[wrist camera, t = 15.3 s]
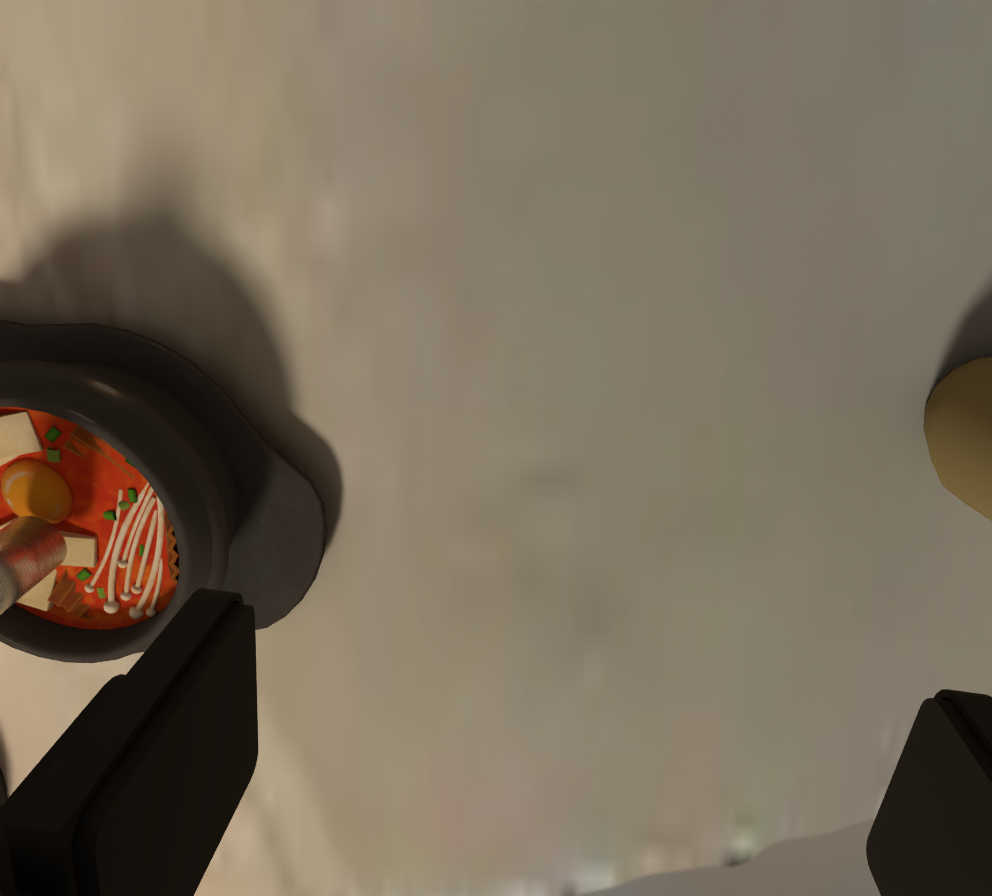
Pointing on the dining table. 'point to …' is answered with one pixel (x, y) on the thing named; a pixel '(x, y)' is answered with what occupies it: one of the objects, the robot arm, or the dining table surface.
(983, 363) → the squeeze bottle
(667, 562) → the dining table surface
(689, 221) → the dining table surface
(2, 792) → the belt
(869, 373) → the dining table surface
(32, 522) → the orange and grey cylinder
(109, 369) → the casserole
